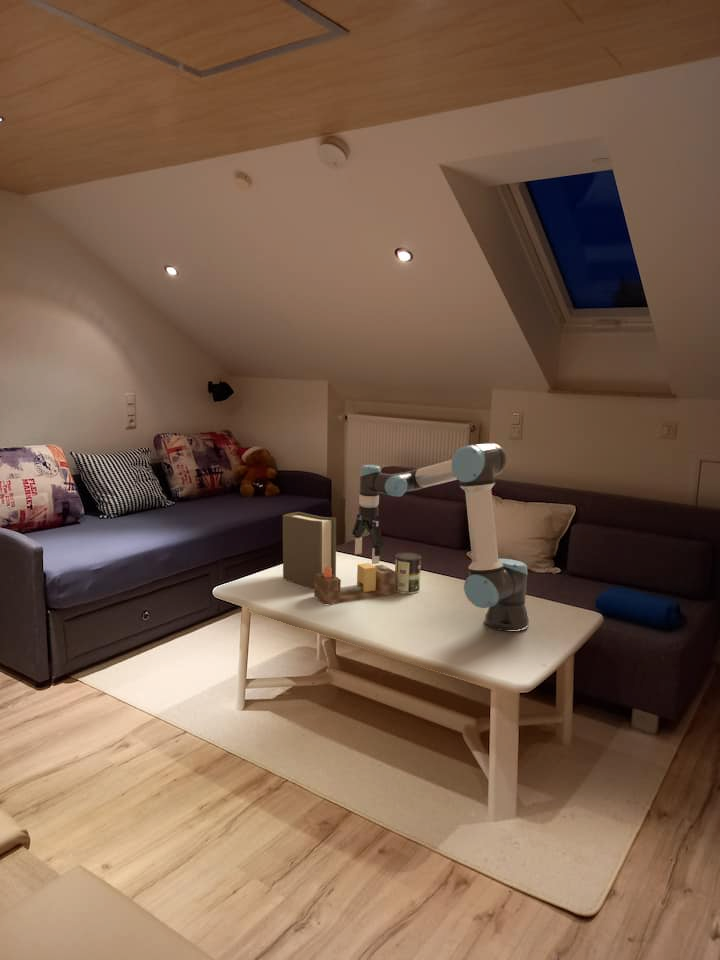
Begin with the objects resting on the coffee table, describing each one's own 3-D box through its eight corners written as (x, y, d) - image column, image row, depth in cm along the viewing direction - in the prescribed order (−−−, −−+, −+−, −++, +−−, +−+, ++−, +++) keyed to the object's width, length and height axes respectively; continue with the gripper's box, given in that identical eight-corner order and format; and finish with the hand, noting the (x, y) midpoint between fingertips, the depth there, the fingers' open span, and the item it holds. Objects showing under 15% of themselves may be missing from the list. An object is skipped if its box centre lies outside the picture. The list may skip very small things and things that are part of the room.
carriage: (367, 585, 281) (368, 562, 280) (375, 590, 276) (376, 567, 274) (356, 587, 279) (357, 564, 277) (364, 592, 274) (365, 568, 272)
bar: (372, 587, 280) (372, 582, 280) (375, 589, 278) (375, 584, 278) (333, 593, 272) (334, 588, 272) (336, 595, 270) (336, 590, 270)
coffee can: (418, 586, 288) (420, 552, 286) (420, 594, 278) (422, 560, 276) (393, 585, 289) (394, 551, 286) (394, 593, 278) (395, 559, 276)
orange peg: (332, 583, 268) (333, 568, 267) (325, 584, 267) (325, 569, 265) (329, 581, 271) (329, 566, 269) (322, 582, 269) (322, 567, 268)
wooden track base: (381, 586, 287) (382, 563, 285) (394, 593, 278) (395, 570, 277) (314, 596, 273) (314, 572, 271) (325, 604, 264) (326, 580, 262)
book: (281, 580, 292) (281, 513, 288) (298, 575, 299) (297, 510, 295) (319, 591, 278) (319, 521, 274) (335, 586, 285) (336, 517, 281)
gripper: (394, 511, 263) (391, 566, 267) (361, 497, 284) (359, 548, 288) (376, 513, 259) (374, 569, 263) (345, 499, 280) (343, 550, 284)
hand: (366, 558), depth 276 cm, fingers open, 13 cm apart
